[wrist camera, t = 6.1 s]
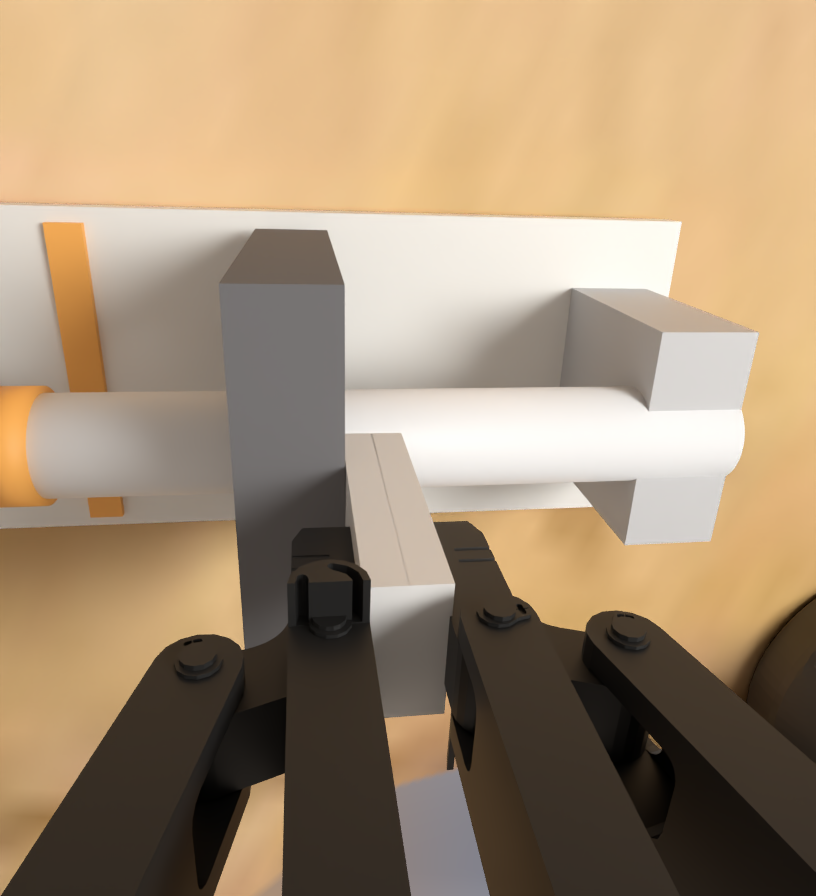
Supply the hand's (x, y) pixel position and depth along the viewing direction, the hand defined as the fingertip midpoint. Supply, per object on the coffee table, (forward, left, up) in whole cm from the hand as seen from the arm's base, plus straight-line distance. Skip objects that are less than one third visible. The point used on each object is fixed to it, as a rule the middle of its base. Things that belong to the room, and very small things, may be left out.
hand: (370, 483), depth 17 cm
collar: (+2, 0, -9) cm, 9 cm away
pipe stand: (+2, 0, -11) cm, 11 cm away
